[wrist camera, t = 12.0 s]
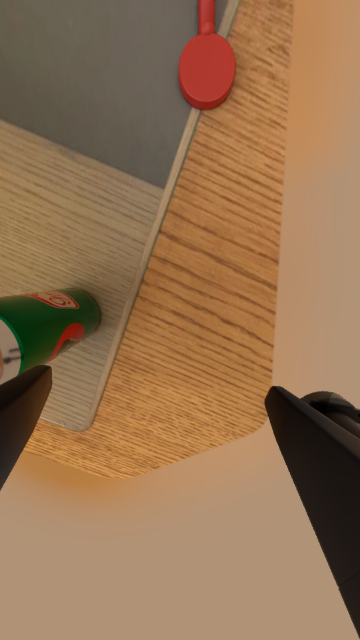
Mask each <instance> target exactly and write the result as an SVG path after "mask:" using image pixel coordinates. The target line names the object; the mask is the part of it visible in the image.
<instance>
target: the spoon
mask: <svg viewBox="0 0 360 640" xmlns="http://www.w3.org/2000/svg"><path fill="white" fill-rule="evenodd" d="M235 70H236V62H235V57H234V53H233V50H232V48H231V46H230V45H229V43H228V42H227V41H226V40H225V39H224V38H223V37H221V36H220V35H218V34H215V0H199V35H197V36H195V37H194V38H192V39H191V40H190V41H189V42H188V44H187V45H186V46H185V48H184V50H183V52H182V54H181V57H180V61H179V84H180V88H181V92H182V94H183V96H184V97H185V99H186V100H187V101H188V102H189V103H190V104H191V105H192V106H194V107H195V108H198V109H202V110H208V109H213V108H215V107H217V106H219V105H220V104H221V103H222V102H223V101H224V100H225V99H226V98H227V96H228V95H229V93H230V90H231V88H232V84H233V81H234V77H235Z"/></svg>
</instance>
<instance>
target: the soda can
mask: <svg viewBox="0 0 360 640" xmlns="http://www.w3.org/2000/svg"><path fill="white" fill-rule="evenodd" d="M99 321H100V311H99V307H98V305H97V303H96V301H95V300H94V299H93V298H92V296H90V295H89V294H88V293H86V292H85V291H82V290H80V289H75V288H67V289H60V290H52V291H44V292H36V293H29V294H21V295H13V296H6V297H0V385H1V384H3V383H4V382H6V381H8V380H10V379H12V378H14V377H16V376H18V375H20V374H22V373H23V372H25V371H27V370H29V369H31V368H33V367H35V366H37V365H45V364H47V363H48V362H50V361H51V360H53V359H54V358H56V357H57V356H59V355H60V354H62V353H64V352H65V351H67V350H68V349H70V348H71V347H73V346H74V345H76V344H77V343H79V342H80V341H82V340H83V339H85V338H86V337H88V336H89V335H91V334H92V333H93V332H94V331H95V330H96V328H97V327H98V325H99Z"/></svg>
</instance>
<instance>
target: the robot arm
mask: <svg viewBox="0 0 360 640" xmlns="http://www.w3.org/2000/svg"><path fill="white" fill-rule="evenodd" d="M51 388H52V369H51V367H50V366H47V365H37V366H35V367H33V368H31V369H29V370H27V371H25V372H23V373H22V374H20V375H18V376H16V377H14V378H12V379H10V380H8V381H6V382H4V383H3V384H1V385H0V490H1V489H2V487H3V485H4V483H5V481H6V480H7V478H8V476H9V474H10V472H11V470H12V469H13V467H14V465H15V463H16V462H17V460H18V458H19V456H20V454H21V453H22V451H23V449H24V447H25V445H26V444H27V442H28V440H29V438H30V436H31V434H32V433H33V431H34V428H35V426H36V424H37V422H38V419H39V417H40V415H41V412H42V410H43V407H44V405H45V403H46V400H47V398H48V396H49V393H50V391H51ZM313 404H314V405H313ZM265 408H266V411H267V414H268V417H269V420H270V423H271V426H272V429H273V433H274V436H275V438H276V441H277V443H278V446H279V448H280V451H281V453H282V456H283V458H284V460H285V463H286V465H287V467H288V470H289V472H290V475H291V477H292V479H293V482H294V484H295V486H296V489H297V491H298V493H299V496H300V498H301V501H302V503H303V505H304V507H305V510H306V512H307V515H308V517H309V520H310V522H311V524H312V527H313V529H314V531H315V533H316V536H317V538H318V541H319V543H320V546H321V548H322V550H323V553H324V555H325V557H326V560H327V562H328V565H329V567H330V569H331V572H332V574H333V576H334V579H335V581H336V583H337V586H338V587H339V591H340V593H341V596H342V598H343V601H344V603H345V605H346V608H347V610H348V612H349V615H350V617H351V620H352V622H353V624H354V627H355V629H356V631H357V634H358V636H359V638H360V409H356V408H351V407H346V406H342V405H337V404H332V403H327V402H322V401H318V400H310V401H309V403H308V404H307V403H305V402H304V401H302V400H301V399H299V398H298V397H296V396H295V395H293V394H292V393H290V392H289V391H287V390H285V389H284V388H283V387H280V386H272V387H271V388H270V390H269V392H268V394H267V396H266V398H265Z"/></svg>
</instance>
